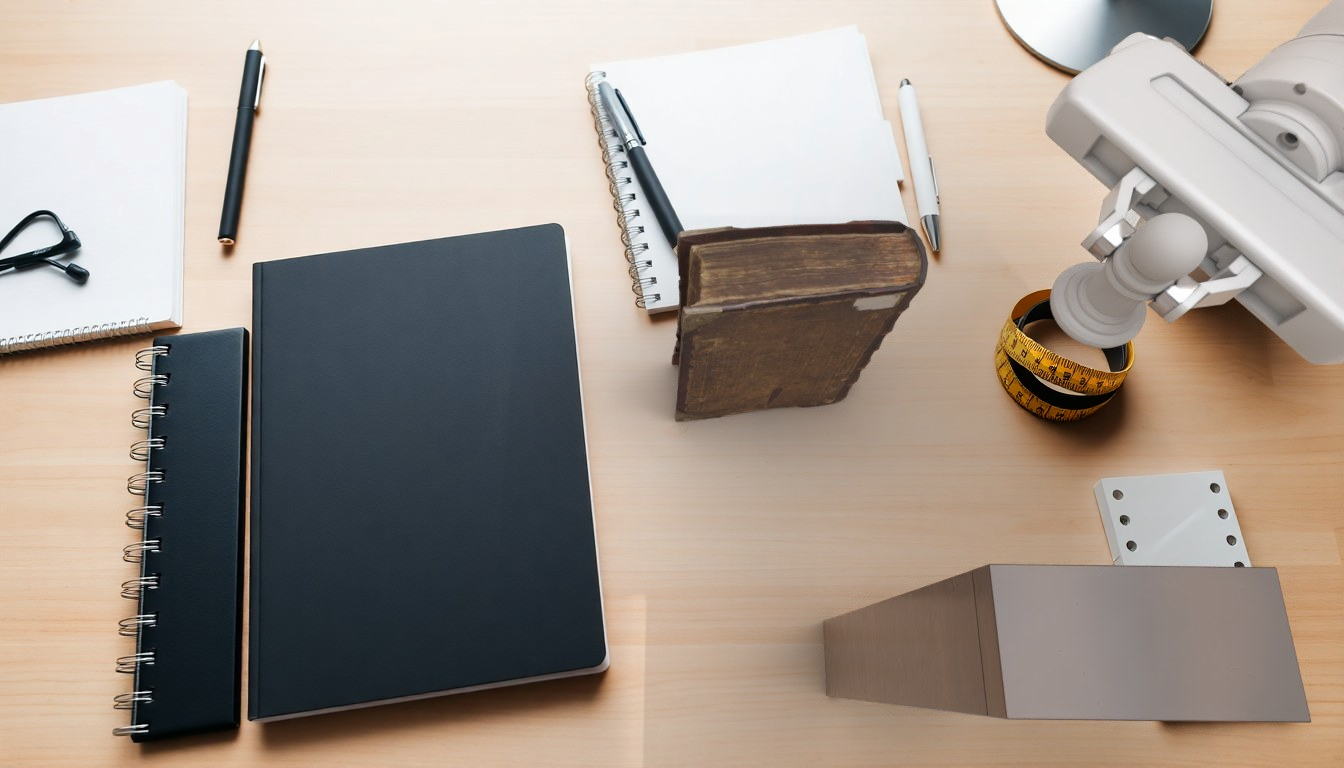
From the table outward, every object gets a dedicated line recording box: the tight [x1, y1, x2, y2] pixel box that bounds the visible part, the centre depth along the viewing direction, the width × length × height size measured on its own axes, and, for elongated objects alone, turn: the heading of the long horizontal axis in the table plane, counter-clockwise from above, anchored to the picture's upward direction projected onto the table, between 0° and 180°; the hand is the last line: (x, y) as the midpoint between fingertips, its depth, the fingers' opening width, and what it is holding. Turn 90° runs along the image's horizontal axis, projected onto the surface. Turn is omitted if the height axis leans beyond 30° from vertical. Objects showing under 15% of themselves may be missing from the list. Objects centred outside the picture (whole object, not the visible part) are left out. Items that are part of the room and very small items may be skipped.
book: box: [671, 219, 929, 422], centre depth 65 cm, size 17×7×25 cm, turn 90°
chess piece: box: [1049, 213, 1208, 349], centre depth 44 cm, size 5×5×9 cm
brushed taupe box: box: [822, 563, 1312, 724], centre depth 51 cm, size 12×6×38 cm, turn 89°
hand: (1130, 279), depth 43 cm, fingers closed on chess piece, 3 cm apart
